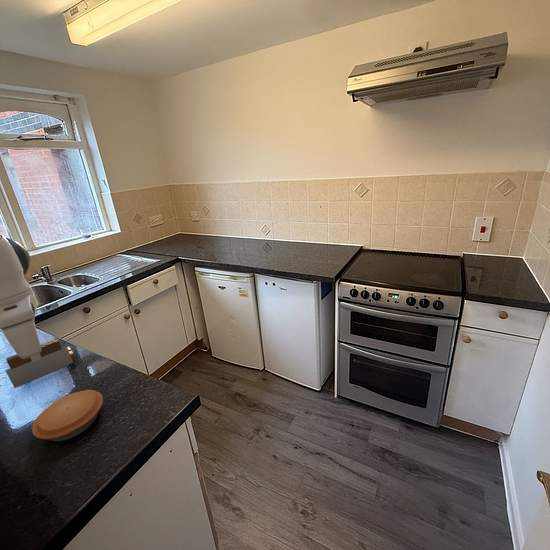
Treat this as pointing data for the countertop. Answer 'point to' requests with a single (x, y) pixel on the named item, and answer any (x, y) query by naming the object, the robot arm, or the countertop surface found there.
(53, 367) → the brown wooden block
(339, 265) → the countertop surface
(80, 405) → the pie
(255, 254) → the countertop surface
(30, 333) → the robot arm
